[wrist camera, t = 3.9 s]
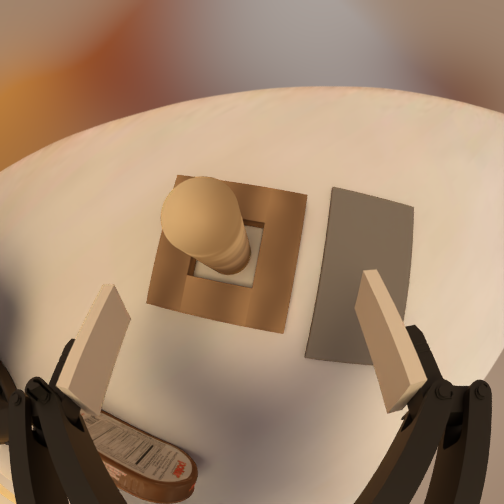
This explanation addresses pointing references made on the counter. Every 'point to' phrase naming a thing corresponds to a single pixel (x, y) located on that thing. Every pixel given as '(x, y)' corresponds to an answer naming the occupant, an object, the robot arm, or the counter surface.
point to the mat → (358, 270)
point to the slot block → (267, 270)
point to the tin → (141, 460)
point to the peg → (207, 224)
